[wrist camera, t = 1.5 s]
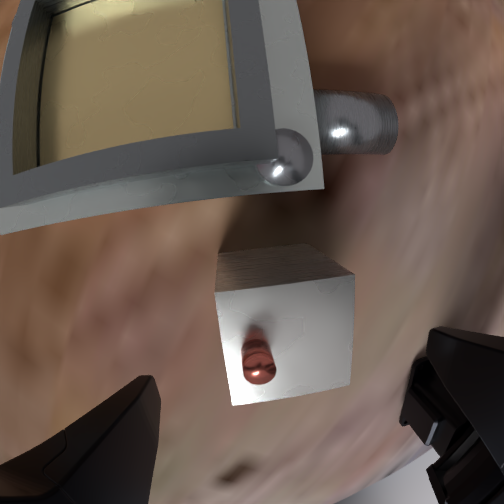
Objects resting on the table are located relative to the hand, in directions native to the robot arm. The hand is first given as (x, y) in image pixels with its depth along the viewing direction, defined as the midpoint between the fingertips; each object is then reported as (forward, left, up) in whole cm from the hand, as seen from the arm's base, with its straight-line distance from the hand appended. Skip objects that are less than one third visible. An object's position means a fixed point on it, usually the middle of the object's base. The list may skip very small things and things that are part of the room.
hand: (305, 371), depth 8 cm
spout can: (0, 0, -8) cm, 8 cm away
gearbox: (+3, -11, -7) cm, 14 cm away
